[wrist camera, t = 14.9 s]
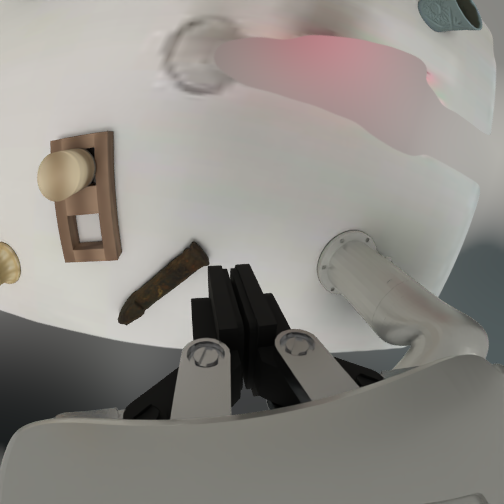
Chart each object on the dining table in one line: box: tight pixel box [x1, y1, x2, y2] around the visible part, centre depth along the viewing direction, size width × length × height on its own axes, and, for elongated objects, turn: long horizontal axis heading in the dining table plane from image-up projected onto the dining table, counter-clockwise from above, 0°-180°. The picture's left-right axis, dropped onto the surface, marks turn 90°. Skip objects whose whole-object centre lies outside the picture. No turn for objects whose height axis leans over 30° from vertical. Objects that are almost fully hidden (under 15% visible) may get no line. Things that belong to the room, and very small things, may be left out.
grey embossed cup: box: [418, 0, 482, 32], centre depth 24 cm, size 10×10×12 cm
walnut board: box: [50, 131, 122, 263], centre depth 32 cm, size 9×18×3 cm, turn 177°
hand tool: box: [118, 242, 209, 325], centre depth 40 cm, size 19×4×5 cm, turn 122°
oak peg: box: [37, 148, 96, 202], centre depth 27 cm, size 6×6×10 cm
